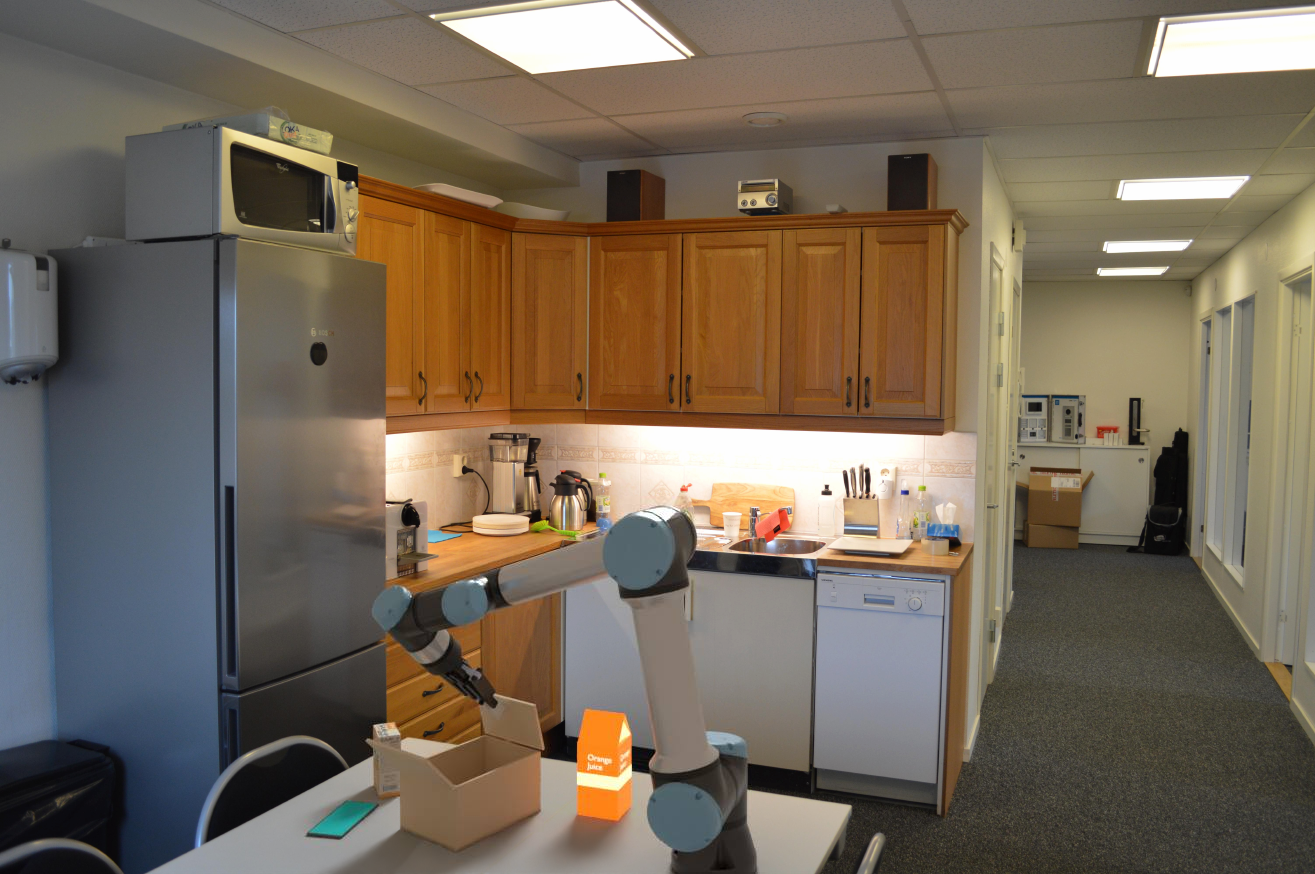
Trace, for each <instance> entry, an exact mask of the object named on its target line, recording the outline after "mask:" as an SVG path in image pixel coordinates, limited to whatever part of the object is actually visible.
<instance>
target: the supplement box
mask: <svg viewBox="0 0 1315 874" xmlns="http://www.w3.org/2000/svg"><path fill="white" fill-rule="evenodd" d="M372 727H373V728H372V738H373V739H372V740H374V741H377V742H380V743H383V744H386V745H389V746H392V747H395V748H398V749H401V750H402V735H401V732H400V729H399V728H398V726H397V725H396V722H395V721H393V722H386V723H378V724H374V725H372ZM372 750H373V752H372V754H373V755H372V758H373V761H372V763H373V764H372V765H373V770H372V771H373V786H374V788H375V791H376V792H377V796H378V798H379V800H380V799H385V798H387V799H388V798H391V797H397V796H400V770H397V769H395V768H394V767H393V766H392V765H391V764H390V763H389V762H388V761H386V760H385V759H384V758H383V757H382V756H381V755H380V754H379V753H378V752H377V751H376V750H375V749H374V748H372Z"/></svg>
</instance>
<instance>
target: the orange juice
mask: <svg viewBox="0 0 1315 874" xmlns="http://www.w3.org/2000/svg"><path fill="white" fill-rule="evenodd" d="M576 743H577V746H576V747H577V749H576V750H577V751H576V752H577V753H576V754H577V755H576V758H577V759H576V760H577V762H576V763H577V764H576V766H577V771H576V786H577V787H576V788H577V791H576V793H577V794H576V795H577V796H576V797H577V798H576V799H577V800H576V804H577V805H576V808H577V809H576V810H577V811H576V813H577V814H576V815H580V816H584V817H590V818H593V817H594V818H598V819H603V820H612V821H617V822H618V821H620V819H621V818H622V817H623V815H624V814H625V813H626V812H627V811H629V808H631V806H632V776H633V775H632V770H633V768H632V767H633V766H632V733H631V729H630V726H629V723H628V720H627V717H626V714H625V713H621V712H612V711H606V710H603V711H602V710H595V709H584V713H583V718H582V722H581V727H580V731H579V736H578V740H577V742H576Z"/></svg>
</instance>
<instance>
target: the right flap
mask: <svg viewBox="0 0 1315 874" xmlns="http://www.w3.org/2000/svg"><path fill="white" fill-rule="evenodd" d="M493 696H494V697H495V698H496V699H497V700H498V701H499V702H500V703H501V704H502V705H503V706H504V707H505V709H504V711H503V713H502V714H501V716H500V718H499V719H495V718H493V717H492V716H491V715H490V714H489V713H488V712H487V711H486V710H485V709H484V708H483V707H482V706H481V705H479V704H478V707H479V712H480V718H481V721H482V725H483V730H484V731H483V732H484V733H485V735H490V736H492V737H495V738H499V739H502V740H505V741H506V740H507V741H509V742H512V743H515V744H519V745H520V744H521V745H522V746H525V747H529V748H532V749H535V750H536V749H537V750H539V751H544V750H545V749H546V748H545V744H544V739H543V734H542V730H541V729H542V728H541V724H540V719H539V715H538V710H537V709H538V708H537V705H536V703H531V702H528V701H525V700H524V701H523V700H519V699H516V698H512V697H509V696H506V695H505V696H504V695H501V694H497V693H494V695H493Z"/></svg>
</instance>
